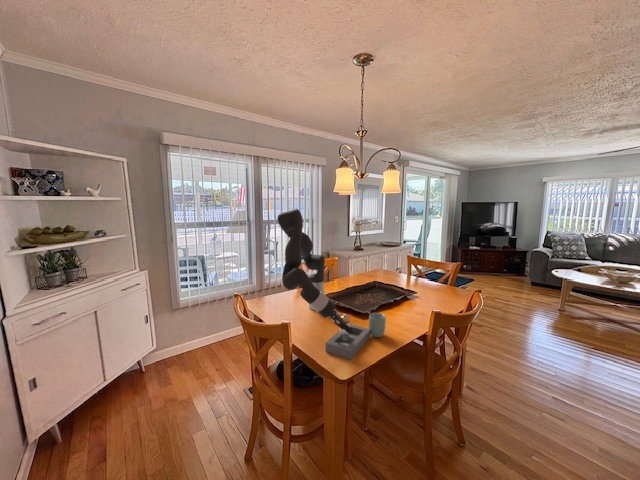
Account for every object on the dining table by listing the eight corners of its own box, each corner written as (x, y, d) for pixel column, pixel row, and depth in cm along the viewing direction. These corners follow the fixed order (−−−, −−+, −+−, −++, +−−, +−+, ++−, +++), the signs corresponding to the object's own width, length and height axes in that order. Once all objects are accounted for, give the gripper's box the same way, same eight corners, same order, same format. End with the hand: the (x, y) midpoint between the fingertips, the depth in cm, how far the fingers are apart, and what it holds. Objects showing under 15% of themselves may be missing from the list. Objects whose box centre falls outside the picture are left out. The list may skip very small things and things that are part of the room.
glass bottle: (342, 334, 116) (342, 311, 115) (350, 337, 114) (351, 313, 113) (337, 338, 113) (337, 315, 111) (346, 341, 110) (346, 317, 109)
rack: (325, 351, 112) (325, 342, 111) (347, 330, 130) (348, 323, 130) (350, 360, 106) (350, 351, 105) (370, 337, 124) (370, 329, 124)
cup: (366, 331, 129) (367, 312, 128) (381, 331, 130) (382, 312, 129) (370, 339, 121) (371, 319, 120) (386, 339, 122) (388, 319, 121)
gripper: (331, 303, 103) (360, 330, 106) (324, 292, 117) (350, 315, 120) (318, 317, 102) (347, 343, 106) (313, 304, 116) (338, 327, 120)
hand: (348, 328), depth 113 cm, fingers closed on glass bottle, 4 cm apart
